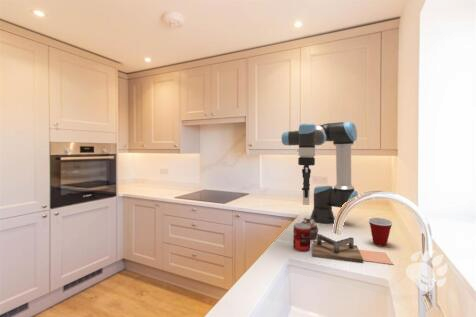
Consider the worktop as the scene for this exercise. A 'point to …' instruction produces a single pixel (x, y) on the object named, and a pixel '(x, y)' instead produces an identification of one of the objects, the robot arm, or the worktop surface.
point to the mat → (375, 257)
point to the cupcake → (313, 228)
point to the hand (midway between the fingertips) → (305, 201)
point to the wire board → (342, 252)
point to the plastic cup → (380, 230)
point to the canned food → (301, 237)
